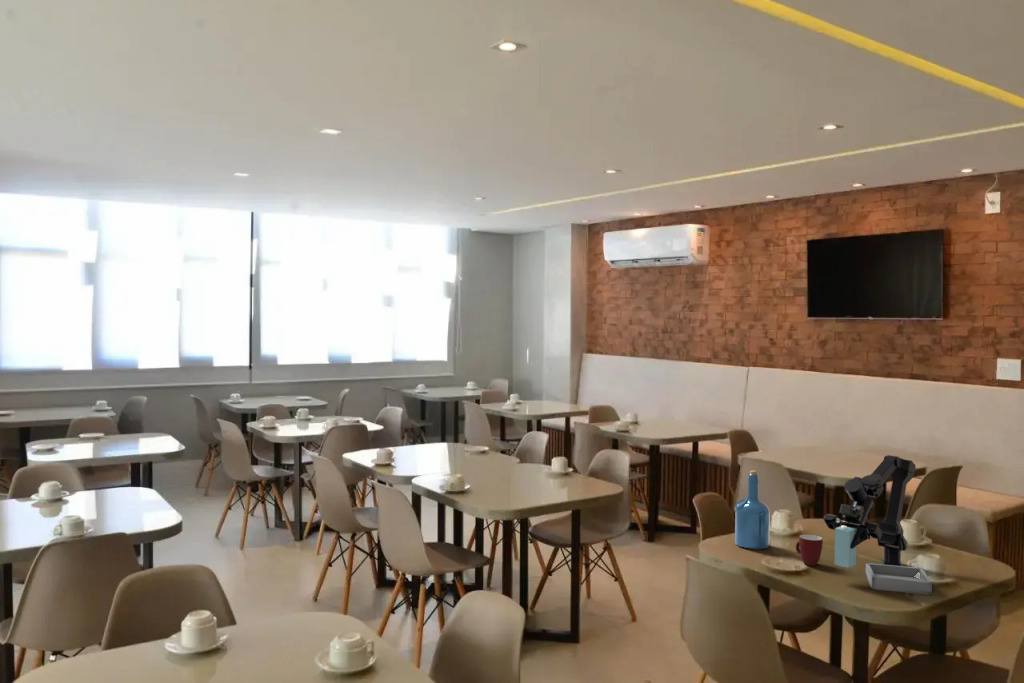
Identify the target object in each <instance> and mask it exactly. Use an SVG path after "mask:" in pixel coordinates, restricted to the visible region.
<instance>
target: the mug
mask: <svg viewBox="0 0 1024 683" xmlns="http://www.w3.org/2000/svg"><path fill="white" fill-rule="evenodd" d="M823 540H824V539H823V537H821V536H818V535H815V534H800V535H799V537H798V541H797V542H796V543H795V550H796V552H797V553H798V554H799V555H800V556H801V559H802V561H803V564H805V563H806V564H808V565H807V566H809V567H810V566H811V567H814V566H817V564H818V562H819V561H820V559H821V555H822V552H823V551H822V550H823V544H824V542H823ZM806 564H805V565H806Z"/></svg>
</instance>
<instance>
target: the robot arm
mask: <svg viewBox="0 0 1024 683" xmlns="http://www.w3.org/2000/svg"><path fill="white" fill-rule="evenodd" d="M916 469H917V468H916V464H915V463H914V462H913V460H911V459H904V458H902V457H899V456H897V455H890V454H889V455H888V454H887V455H885V456H884V458H883V460H882V461H881V462H880V463H879V465H878V466H877V467H876V468H875V469H874V470H873V472H872V473H871V474H868V475H865V476H862V478H861V477H860V476H859V477H858V476H854V477H853V478H852V479H849V480H847V481H846V482H845V483H844V489H845V491H846V493H847V495H848V497H849V498H850V500H851V501H853V503H852V505H849V504H844V503H841V504H840V508H839V514H841V515H842V519H844V520H842V519H840V518H839V516H838V515H835V514H831V513H827V514H825V515H824V516H823V522H824V523H825V524H826V526H827V528H829V529H830V530H832V531H833V530H834V531H835V528H837V527H841V526H847V527H850V528H855V529H857V530H856V534H855V536H854V539H853V541H852V543H851V546H850V548H851V549H853V548H854V547H856V548H857V546H858V545H860V544H862V543H863V542H865V541H867V540H871V538H872V539H875V540H876V541H877V545H878V547H882V548H883V559H881V563H882V564H883V565H894V566H904V565H903V563H902V557H901V556H902V552H903V551H907V549H908V541H907V540H906V538H905V536H904V529H903V526H902V524H901V519H902V513H903V508H904V501H905V496H906V491H907V484H909V482H910V481H912V479H913V478H914V475H915V472H916ZM889 478H891V486H890V492H889V498H888V504H887V511H886V516H885V519H884V520H883V521H880V522H879V524H878V523H875V522H871V521H868V520H869V517H868V515H869V513H870V510H871V508H872V509H873V508H875V503H874V500H873V499H872V498H879V497H880V496H881V495H882V493H883V491H884V486H883V485H884V483H885V482H887V480H888V479H889Z"/></svg>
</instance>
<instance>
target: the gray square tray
mask: <svg viewBox="0 0 1024 683" xmlns="http://www.w3.org/2000/svg"><path fill="white" fill-rule="evenodd" d="M921 568H922V567H915V566H904V565H903V566H894V565H883V563H882V564H881V563H871V562H866V563H865V572H864V574H865V576H866V578H867V581H868V583H869V585H870V588H871V589H872V590H878V591H888V592H897V593H907V594H908V593H910V594H917V595H926V596H932V595H933V582H932V580H930V578H929V577H928V575H927V574H926V572H925V571H924V569H923V568H922V569H921ZM918 572H919V573H920V579H919V578H916V577H914V576H915V575H916V574H917V573H918Z"/></svg>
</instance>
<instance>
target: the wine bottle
mask: <svg viewBox="0 0 1024 683" xmlns="http://www.w3.org/2000/svg"><path fill="white" fill-rule="evenodd" d="M759 479H760V478H759V474H758V471H757V470H750V471H749V474H748V477H747V493H746V494H747V496H746V497H745V498H743V499H741V500H739V501H738V502H737V503H736V504H735V506H734V510H735V514H734V515H735V517H734V518H735V522H734V524H735V526H734V543H735V545H736V546H738V547H740V548H743V547H744V548H743V549H746V548H748V549H749V550H764V549H767V548H769V545H770V523H771V522H770V520H771V515H770V514H771V510H770V508H769V506H768V505H767V504H766V503H764V502H763V501H761V500H760V498H759V495H760V494H759V484H760V482H759V481H760V480H759Z"/></svg>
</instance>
